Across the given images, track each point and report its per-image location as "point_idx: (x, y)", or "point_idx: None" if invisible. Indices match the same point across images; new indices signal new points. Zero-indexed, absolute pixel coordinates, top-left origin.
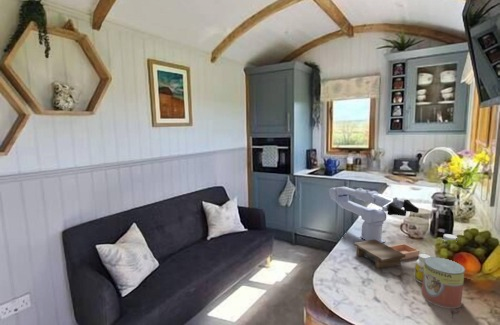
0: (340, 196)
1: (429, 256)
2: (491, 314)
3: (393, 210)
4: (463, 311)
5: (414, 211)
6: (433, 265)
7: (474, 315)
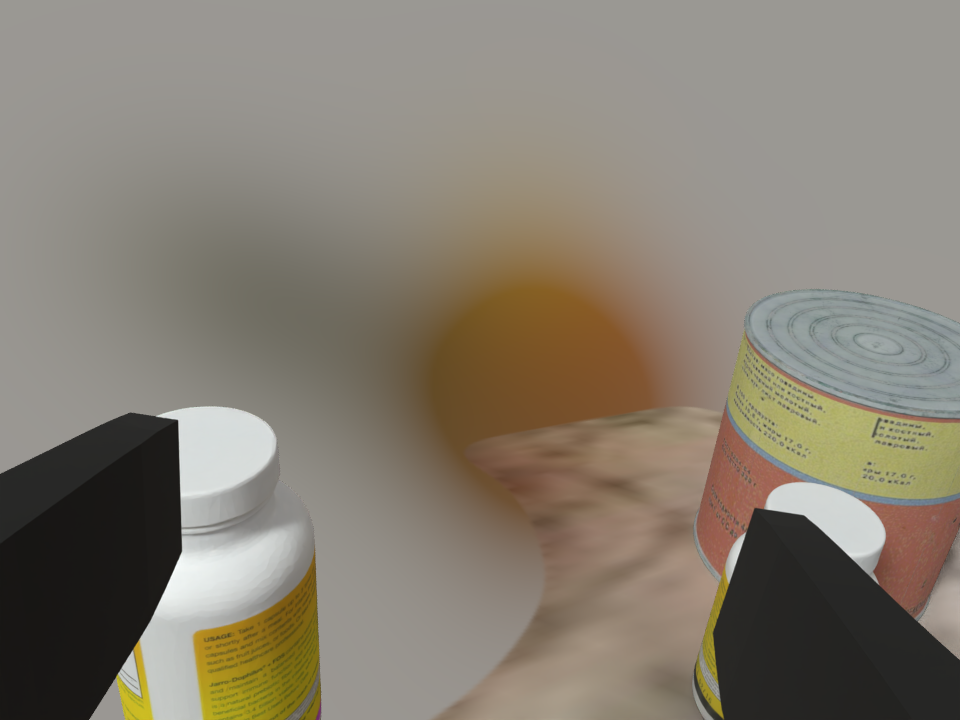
0: None
1: (783, 496)
2: (660, 416)
3: None
4: None
5: (132, 612)
6: None
7: None
